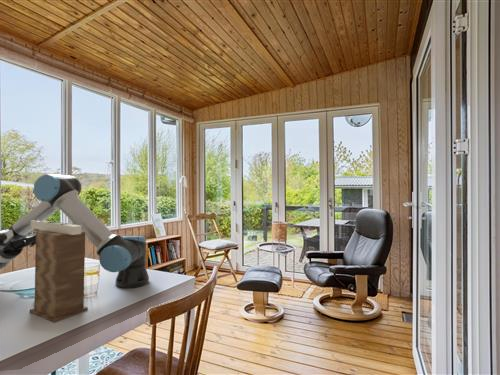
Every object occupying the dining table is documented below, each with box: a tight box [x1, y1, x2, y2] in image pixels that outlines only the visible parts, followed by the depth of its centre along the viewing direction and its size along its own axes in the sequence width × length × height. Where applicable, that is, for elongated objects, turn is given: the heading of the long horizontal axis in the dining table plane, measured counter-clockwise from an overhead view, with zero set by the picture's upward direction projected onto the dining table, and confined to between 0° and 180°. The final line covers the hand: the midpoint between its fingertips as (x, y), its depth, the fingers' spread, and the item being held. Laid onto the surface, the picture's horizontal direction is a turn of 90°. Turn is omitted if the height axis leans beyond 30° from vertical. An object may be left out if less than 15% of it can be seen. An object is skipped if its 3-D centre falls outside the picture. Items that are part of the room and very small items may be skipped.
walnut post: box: [29, 230, 89, 323], centre depth 110 cm, size 16×12×30 cm
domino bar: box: [31, 220, 81, 235], centre depth 112 cm, size 28×3×3 cm, turn 62°
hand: (31, 230), depth 119 cm, fingers open, 13 cm apart
